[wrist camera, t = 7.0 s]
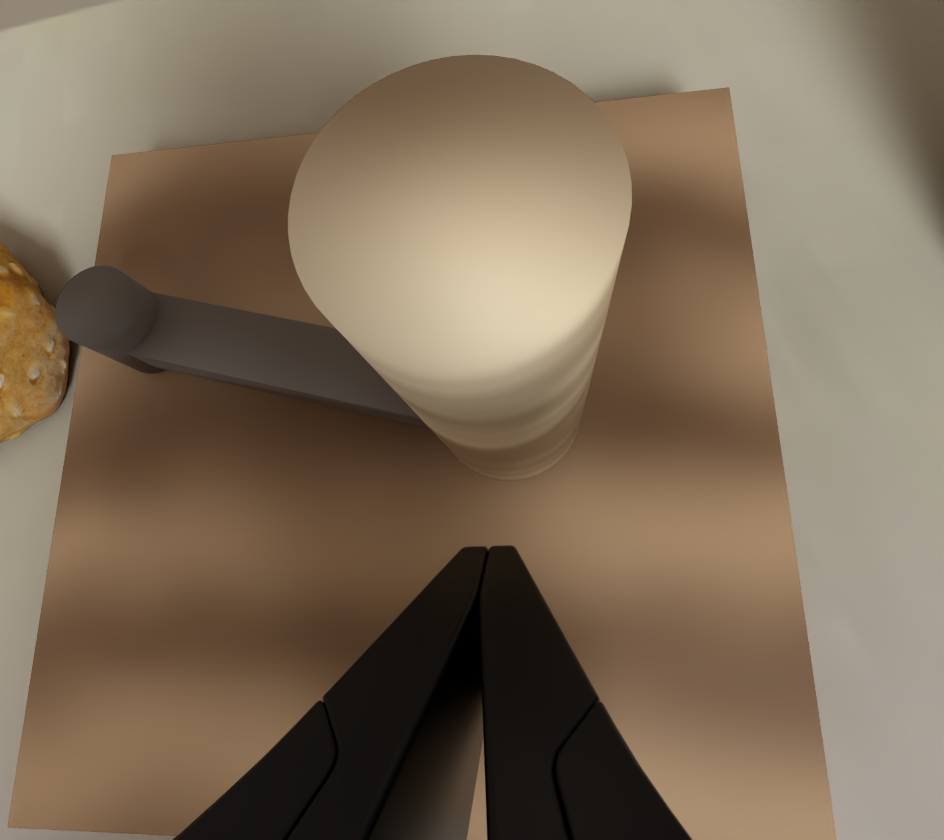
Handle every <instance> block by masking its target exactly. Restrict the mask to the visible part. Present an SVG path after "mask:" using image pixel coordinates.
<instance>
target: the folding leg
mask: <svg viewBox="0 0 944 840" xmlns="http://www.w3.org/2000/svg"><path fill="white" fill-rule="evenodd" d="M631 207H632V182H631V176H630V170H629V164H628V160H627V157H626V154H625V151H624V148H623V145H622V143H621V141H620V139H619V137H618V135H617V133H616V131H615V129H614V127H613V125H612V124H611V123H610V121H609V120H608V118H607V117H606V116H605V114H604V113H603V111H602V110H601V109H600V108H599V107H598V106H597V105H596V104H595V103H594V102H593V101H592V100H591V99H590V97H589V96H588V95H586V94H585V93H584V92H583V91H581V90H580V89H579V88H577V87H576V86H575V85H574V84H572V83H571V82H569V81H568V80H566V79H564V78H562V77H561V76H559V75H557V74H555V73H554V72H551V71H549V70H547V69H544V68H542V67H539V66H537V65H535V64H531V63H527V62H524V61H520V60H517V59H512V58H505V57H499V56H488V55H465V56H452V57H446V58H440V59H435V60H430V61H427V62H423V63H420V64H416V65H413V66H410V67H408V68H405V69H403V70H400V71H398V72H395V73H393V74H391V75H389V76H387V77H385V78H383V79H381V80H379V81H378V82H376V83H374V84H372V85H371V86H369V87H368V88H366V89H365V90H363V91H362V92H361V93H359V94H358V95H356V96H355V97H354V98H353V99H351V100H350V101H349V102H348V103H347V104H346V105H344V106H343V107H342V108H341V109H340V110H339V111H338V112H337V113H336V114H335V115H334V116H333V117H332V118H331V119H330V120H329V121H328V123H327V124H326V125H325V126H324V128H323V129H322V130H321V132H320V133H319V134H318V136H317V137H316V138H315V140H314V141H313V143H312V145H311V146H310V148H309V150H308V151H307V153H306V155H305V157H304V159H303V161H302V163H301V166H300V168H299V170H298V173H297V175H296V178H295V182H294V185H293V189H292V193H291V197H290V204H289V212H288V237H289V244H290V251H291V255H292V259H293V262H294V265H295V269H296V272H297V274H298V276H299V278H300V281H301V283H302V285H303V287H304V289H305V291H306V292H307V294H308V295H309V297H310V298H311V300H312V301H313V303H314V304H315V306H316V307H317V308H318V309H319V310H320V311H321V313H322V314H323V315H324V316H325V317H326V318H327V319H328V320H329V321H330V322H331V323H332V325H333V326H334V327H335V328H331V327H326V326H321V325H316V324H311V323H306V322H301V321H295V320H290V319H285V318H280V317H275V316H270V315H265V314H260V313H255V312H250V311H245V310H240V309H235V308H229V307H224V306H219V305H214V304H209V303H204V302H199V301H194V300H189V299H184V298H179V297H174V296H169V295H163V294H158V293H153V292H152V291H150V290H149V289H147V288H146V287H144V286H143V285H141V284H140V283H138V282H137V281H135V280H134V279H132V278H131V277H129V276H128V275H126V274H125V273H123V272H122V271H120V270H118V269H116V268H114V267H111V266H95V267H91V268H88V269H86V270H84V271H82V272H80V273H78V274H77V275H75V276H74V277H73V278H72V279H71V280H70V281H69V282H68V283H67V284H66V286H65V287H64V288H63V290H62V291H61V293H60V295H59V298H58V300H57V304H56V310H55V318H56V323H57V326H58V328H59V330H60V331H61V333H62V334H63V335H64V336H65V337H66V338H68V339H69V340H71V341H73V342H75V343H77V344H80V345H82V346H84V347H86V348H89V349H91V350H93V351H95V352H97V353H100V354H102V355H104V356H106V357H109V358H111V359H113V360H115V361H118V362H120V363H122V364H124V365H126V366H129V367H131V368H133V369H135V370H138V371H140V372H143V373H148V374H153V373H159V372H163V371H165V370H170V371H175V372H179V373H184V374H188V375H193V376H197V377H202V378H206V379H211V380H215V381H220V382H224V383H228V384H233V385H237V386H242V387H246V388H251V389H255V390H260V391H264V392H269V393H273V394H277V395H282V396H286V397H291V398H295V399H300V400H304V401H309V402H313V403H318V404H322V405H327V406H331V407H335V408H340V409H344V410H349V411H353V412H358V413H362V414H367V415H371V416H376V417H380V418H385V419H389V420H393V421H398V422H402V423H407V424H411V425H416V426H420V427H425V428H429V429H431V430H432V431H433V432H434V433H435V434H436V435H437V437H438V438H439V439H440V440H441V441H442V442H443V443H444V444H445V445H446V446H447V447H448V448H449V449H450V450H451V451H452V453H453V454H454V455H455V456H456V457H457V458H458V459H459V460H460V461H461V462H462V463H463V464H464V465H466V466H467V467H468V468H470V469H471V470H473V471H474V472H476V473H478V474H480V475H482V476H485V477H488V478H491V479H495V480H501V481H517V480H524V479H528V478H532V477H535V476H537V475H540V474H542V473H544V472H545V471H547V470H549V469H550V468H552V467H553V466H554V465H556V464H557V463H558V462H559V461H560V460H561V459H562V458H563V457H564V456H565V455H566V453H567V452H568V451H569V449H570V448H571V446H572V444H573V442H574V440H575V438H576V436H577V433H578V429H579V426H580V422H581V418H582V414H583V410H584V406H585V401H586V397H587V393H588V389H589V385H590V381H591V377H592V373H593V369H594V365H595V361H596V357H597V353H598V349H599V345H600V341H601V337H602V332H603V328H604V324H605V320H606V316H607V312H608V308H609V304H610V300H611V296H612V292H613V288H614V284H615V280H616V276H617V272H618V268H619V264H620V259H621V255H622V251H623V247H624V243H625V239H626V235H627V231H628V227H629V221H630V214H631Z"/></svg>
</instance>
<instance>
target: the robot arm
mask: <svg viewBox="0 0 944 840" xmlns="http://www.w3.org/2000/svg"><path fill="white" fill-rule="evenodd" d="M322 700H323V702H322V701H321V700H319V701H317V702H316V703H315V704H314V705H313V706H312V707H311V708H310V709H309V710H308V712H307V713H306V714H305V715H304V716H303V717H302V718H301V719H300V720H299V721H298V722H297V723H296V724H295V725H294V726H293V727H292V728H291V729H290V730H289V731H288V732H287V733H286V734H285V735H284V736H283V737H282V738H281V739H280V740H279V741H278V742H277V744H276V745H275V746H274V747H273V748H272V749H271V750H270V751H269V752H268V753H267V754H266V755H265V756H264V757H263V758H262V759H260V760H259V761H258V762H257V763H256V764H255V765H254V766H253V767H252V768H251V769H250V770H249V771H248V772H247V773H245V774H244V775H243V776H242V777H241V778H240V779H239V780H238V781H237V782H236V783H235V784H234V785H233V786H232V787H230V788H229V789H228V790H227V791H226V792H225V793H224V794H223V795H222V796H221V797H220V798H219V799H217V800H216V801H215V802H214V803H213V804H212V805H211V806H210V807H209V808H207V809H206V810H205V811H204V812H203V813H202V814H201V815H200V816H199V817H197V818H196V819H195V820H194V821H193V822H192V823H191V824H190V825H189V826H187V827H186V828H185V829H184V830H183V831H182V832H181V833H180V834H179V835H177V836H176V837H175V838H174V839H173V840H467V835H468V829H469V822H470V816H471V810H472V804H473V798H474V792H475V785H476V779H477V773H478V767H479V761H480V755H481V748H482V742H483V739H484V766H485V793H486V820H487V840H692V838H691V837H690V835H689V834H688V833H687V831H686V830H685V829H684V827H683V826H682V825H681V823H680V822H679V820H678V819H677V818H676V816H675V815H674V814H673V812H672V811H671V810H670V808H669V807H668V805H667V804H666V802H665V801H664V800H663V798H662V797H661V795H660V794H659V792H658V791H657V789H656V788H655V787H654V785H653V784H652V782H651V781H650V779H649V778H648V776H647V775H646V774H645V772H644V771H643V769H642V768H641V766H640V765H639V763H638V762H637V760H636V758H635V757H634V755H633V753H632V752H631V750H630V748H629V747H628V745H627V743H626V742H625V740H624V738H623V737H622V735H621V733H620V732H619V730H618V729H617V727H616V725H615V723H614V722H613V720H612V718H611V716H610V714H609V713H608V711H607V709H606V707H605V706H604V704H603V703H602V702H600V698H599V696H598V694H597V692H596V691H595V689H594V687H593V685H592V683H591V682H590V680H589V678H588V676H587V675H586V673H585V671H584V669H583V667H582V666H581V664H580V662H579V660H578V658H577V657H576V655H575V653H574V651H573V649H572V648H571V646H570V644H569V642H568V640H567V639H566V637H565V635H564V633H563V631H562V630H561V628H560V626H559V624H558V622H557V621H556V619H555V617H554V615H553V613H552V612H551V610H550V608H549V606H548V604H547V603H546V601H545V599H544V597H543V595H542V594H541V592H540V590H539V588H538V587H537V585H536V583H535V581H534V579H533V578H532V576H531V574H530V572H529V570H528V569H527V567H526V565H525V563H524V561H523V560H522V558H521V556H520V554H519V552H518V551H517V549H516V548H515V546H513V545H503V546H491V547H490V548H489V550H488V548H487V547H485V546H473V547H463V548H462V549H460V551H459V552H458V553H457V554H456V555H455V556H454V557H453V558H452V559H451V560H450V561H449V562H448V563H447V564H446V565H445V567H444V568H443V569H442V570H441V571H440V572H439V573H438V574H437V575H436V576H435V577H434V578H433V579H432V580H431V581H430V583H429V584H428V585H427V586H426V587H425V588H424V589H423V590H422V591H421V592H420V593H419V594H418V595H417V596H416V597H415V599H414V600H413V601H412V602H411V603H410V604H409V605H408V606H407V607H406V608H405V609H404V610H403V611H402V612H401V614H400V615H399V616H398V617H397V618H396V619H395V620H394V621H393V622H392V623H391V624H390V625H389V626H388V627H387V628H386V630H385V631H384V632H383V633H382V634H381V635H380V636H379V637H378V638H377V639H376V640H375V641H374V642H373V643H372V644H371V646H370V647H369V648H368V649H367V650H366V651H365V652H364V653H363V654H362V655H361V656H360V657H359V658H358V659H357V660H356V662H355V663H354V664H353V665H352V666H351V667H350V668H349V669H348V670H347V671H346V672H345V673H344V674H343V675H342V677H341V678H340V679H339V680H338V681H337V682H336V683H335V684H334V685H333V686H332V687H331V688H330V689H329V690H328V691H327V693H326V694H325V695H324V696H323V698H322Z"/></svg>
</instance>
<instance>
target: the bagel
mask: <svg viewBox="0 0 944 840" xmlns="http://www.w3.org/2000/svg"><path fill="white" fill-rule="evenodd" d="M38 286H39V284H38V282H37V281H35V280H34V279H33V278H32V277H31V276H30V275H29V274H28V273H27V271H26V270H25V269H24V268H23V267H22V265H21V264H20V263H19V262H18V261H17V260H16V259H15V258H14V257H13V256H12V254H11V253H10V252H9V250H8V249H7V248H6V247H5V246H4V245H1V244H0V443H1V442H2V441H4V440H5V441H7V440H8V439H15V438H17V437H19V436H20V435H21V434H22V433H23V432H25V431H26V430H27V429H29V428H30V427H31V426H32V425H33V424H34V423H36V422H38V421H40V420H43V419H45V418H47V417H49V416H50V415H52V414H53V413H54V412H55V411H56V410H57V408H58V407H59V405H60V404H61V402H62V399H63V397H64V395H65V391H66V387H67V380H68V358H69V354H70V346H69V339H68V338H66V337H65V336H64V335H63V334H62V333H61V331H60V330H59V328H58V326H57V323H56V318H55V310H56V309H55V308H54V307H53V306H52V305H50V304H48V303H47V301H46V300H45V298H44V297H43V296H42V292H41V290H40V289H39V287H38Z"/></svg>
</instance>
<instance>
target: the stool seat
mask: <svg viewBox="0 0 944 840" xmlns="http://www.w3.org/2000/svg"><path fill="white" fill-rule="evenodd" d="M594 103H595V104H596V105H597V106H598V107H599V108H600V109H601V110H602V111H603V113H604V114H605V116H606V117H607V118H608V120H609V121H610V123H611V124H612V125H613V127H614V129H615V131H616V133H617V135H618V137H619V139H620V141H621V143H622V145H623V148H624V151H625V154H626V157H627V160H628V164H629V170H630V176H631V182H632V207H631V214H630V221H629V227H628V231H627V235H626V239H625V243H624V247H623V251H622V255H621V259H620V264H619V268H618V272H617V276H616V280H615V284H614V288H613V292H612V296H611V300H610V304H609V308H608V312H607V316H606V320H605V324H604V328H603V332H602V337H601V341H600V345H599V349H598V353H597V357H596V361H595V365H594V369H593V373H592V377H591V381H590V385H589V389H588V393H587V397H586V401H585V406H584V410H583V414H582V418H581V422H580V426H579V429H578V433H577V436H576V438H575V440H574V442H573V444H572V446H571V448H570V449H569V451H568V452H567V453H566V455H565V456H564V457H563V458H562V459H561V460H560V461H559V462H558V463H557V464H556V465H554V466H553V467H552V468H550V469H549V470H547V471H545V472H544V473H542V474H540V475H537V476H535V477H532V478H528V479H524V480H517V481H501V480H495V479H491V478H488V477H485V476H482V475H480V474H478V473H476V472H474V471H473V470H471V469H470V468H468V467H467V466H466V465H464V464H463V463H462V462H461V461H460V460H459V459H458V458H457V457H456V456H455V455H454V454H453V453H452V451H451V450H450V449H449V448H448V447H447V446H446V445H445V444H444V443H443V442H442V441H441V440H440V439H439V438H438V437H437V435H436V434H435V433H434V432H433V431H432V430H431V429H429V428H425V427H420V426H416V425H411V424H407V423H402V422H398V421H393V420H389V419H385V418H380V417H376V416H371V415H367V414H362V413H358V412H353V411H349V410H344V409H340V408H335V407H331V406H327V405H322V404H318V403H313V402H309V401H304V400H300V399H295V398H291V397H286V396H282V395H277V394H273V393H269V392H264V391H260V390H255V389H251V388H246V387H242V386H237V385H233V384H228V383H224V382H220V381H215V380H211V379H206V378H202V377H197V376H193V375H188V374H184V373H179V372H175V371H170V370H165V371H163V372H159V373H153V374H148V373H143V372H140V371H138V370H135V369H133V368H131V367H129V366H126V365H124V364H122V363H120V362H118V361H115V360H113V359H111V358H109V357H106V356H104V355H102V354H100V353H97V352H95V351H93V350H91V349H89V348H86V347H84V346H82V351H81V358H80V364H79V371H78V377H77V383H76V390H75V396H74V403H73V409H72V416H71V422H70V428H69V435H68V441H67V448H66V454H65V461H64V467H63V473H62V480H61V486H60V493H59V499H58V506H57V512H56V518H55V525H54V531H53V538H52V544H51V551H50V557H49V563H48V570H47V576H46V583H45V589H44V596H43V602H42V609H41V615H40V621H39V628H38V634H37V641H36V647H35V654H34V660H33V666H32V673H31V679H30V686H29V692H28V699H27V705H26V711H25V718H24V724H23V731H22V737H21V744H20V750H19V756H18V763H17V769H16V776H15V782H14V789H13V795H12V801H11V808H10V814H9V821H8V827H10V828H30V829H50V830H70V831H90V832H109V833H129V834H149V835H169V836H177V835H179V834H180V833H181V832H182V831H183V830H184V829H185V828H186V827H187V826H189V825H190V824H191V823H192V822H193V821H194V820H195V819H196V818H197V817H199V816H200V815H201V814H202V813H203V812H204V811H205V810H206V809H207V808H209V807H210V806H211V805H212V804H213V803H214V802H215V801H216V800H217V799H219V798H220V797H221V796H222V795H223V794H224V793H225V792H226V791H227V790H228V789H229V788H230V787H232V786H233V785H234V784H235V783H236V782H237V781H238V780H239V779H240V778H241V777H242V776H243V775H244V774H245V773H247V772H248V771H249V770H250V769H251V768H252V767H253V766H254V765H255V764H256V763H257V762H258V761H259V760H260V759H262V758H263V757H264V756H265V755H266V754H267V753H268V752H269V751H270V750H271V749H272V748H273V747H274V746H275V745H276V744H277V742H278V741H279V740H280V739H281V738H282V737H283V736H284V735H285V734H286V733H287V732H288V731H289V730H290V729H291V728H292V727H293V726H294V725H295V724H296V723H297V722H298V721H299V720H300V719H301V718H302V717H303V716H304V715H305V714H306V713H307V712H308V710H309V709H310V708H311V707H312V706H313V705H314V704H315V703H316V702H317V701H319V700H321V701H322V702H323V700H322V698H323V696H324V695H325V694H326V693H327V691H328V690H329V689H330V688H331V687H332V686H333V685H334V684H335V683H336V682H337V681H338V680H339V679H340V678H341V677H342V675H343V674H344V673H345V672H346V671H347V670H348V669H349V668H350V667H351V666H352V665H353V664H354V663H355V662H356V660H357V659H358V658H359V657H360V656H361V655H362V654H363V653H364V652H365V651H366V650H367V649H368V648H369V647H370V646H371V644H372V643H373V642H374V641H375V640H376V639H377V638H378V637H379V636H380V635H381V634H382V633H383V632H384V631H385V630H386V628H387V627H388V626H389V625H390V624H391V623H392V622H393V621H394V620H395V619H396V618H397V617H398V616H399V615H400V614H401V612H402V611H403V610H404V609H405V608H406V607H407V606H408V605H409V604H410V603H411V602H412V601H413V600H414V599H415V597H416V596H417V595H418V594H419V593H420V592H421V591H422V590H423V589H424V588H425V587H426V586H427V585H428V584H429V583H430V581H431V580H432V579H433V578H434V577H435V576H436V575H437V574H438V573H439V572H440V571H441V570H442V569H443V568H444V567H445V565H446V564H447V563H448V562H449V561H450V560H451V559H452V558H453V557H454V556H455V555H456V554H457V553H458V552H459V551H460V549H462V548H463V547H473V546H485V547H487V548H488V550H489V548H490V547H491V546H503V545H513V546H515V548H516V549H517V551H518V552H519V554H520V556H521V558H522V560H523V561H524V563H525V565H526V567H527V569H528V570H529V572H530V574H531V576H532V578H533V579H534V581H535V583H536V585H537V587H538V588H539V590H540V592H541V594H542V595H543V597H544V599H545V601H546V603H547V604H548V606H549V608H550V610H551V612H552V613H553V615H554V617H555V619H556V621H557V622H558V624H559V626H560V628H561V630H562V631H563V633H564V635H565V637H566V639H567V640H568V642H569V644H570V646H571V648H572V649H573V651H574V653H575V655H576V657H577V658H578V660H579V662H580V664H581V666H582V667H583V669H584V671H585V673H586V675H587V676H588V678H589V680H590V682H591V683H592V685H593V687H594V689H595V691H596V692H597V694H598V696H599V698H600V702H602V703H603V704H604V706H605V707H606V709H607V711H608V713H609V714H610V716H611V718H612V720H613V722H614V723H615V725H616V727H617V729H618V730H619V732H620V733H621V735H622V737H623V738H624V740H625V742H626V743H627V745H628V747H629V748H630V750H631V752H632V753H633V755H634V757H635V758H636V760H637V762H638V763H639V765H640V766H641V768H642V769H643V771H644V772H645V774H646V775H647V776H648V778H649V779H650V781H651V782H652V784H653V785H654V787H655V788H656V789H657V791H658V792H659V794H660V795H661V797H662V798H663V800H664V801H665V802H666V804H667V805H668V807H669V808H670V810H671V811H672V812H673V814H674V815H675V816H676V818H677V819H678V820H679V822H680V823H681V825H682V826H683V827H684V829H685V830H686V831H687V833H688V834H689V835H690V837H691V838H692V840H837V838H836V831H835V824H834V817H833V810H832V803H831V796H830V789H829V782H828V775H827V768H826V761H825V754H824V747H823V740H822V733H821V726H820V719H819V712H818V705H817V698H816V691H815V684H814V677H813V670H812V663H811V656H810V650H809V643H808V636H807V629H806V622H805V615H804V608H803V601H802V594H801V587H800V580H799V573H798V566H797V559H796V552H795V545H794V538H793V531H792V524H791V517H790V510H789V503H788V496H787V489H786V482H785V475H784V468H783V461H782V454H781V447H780V440H779V433H778V426H777V419H776V412H775V405H774V398H773V391H772V384H771V377H770V370H769V363H768V356H767V349H766V342H765V335H764V328H763V321H762V314H761V307H760V300H759V293H758V286H757V279H756V272H755V265H754V258H753V251H752V244H751V237H750V230H749V223H748V216H747V209H746V202H745V195H744V188H743V181H742V174H741V167H740V160H739V153H738V146H737V139H736V132H735V125H734V118H733V111H732V104H731V97H730V90H729V88H720V89H711V90H702V91H692V92H683V93H674V94H665V95H656V96H647V97H638V98H629V99H620V100H611V101H602V102H594ZM318 134H319V133H311V134H302V135H293V136H284V137H275V138H266V139H257V140H248V141H239V142H230V143H221V144H212V145H203V146H194V147H184V148H175V149H166V150H157V151H148V152H139V153H130V154H121V155H112V158H111V165H110V171H109V178H108V184H107V190H106V197H105V203H104V210H103V216H102V223H101V229H100V235H99V242H98V248H97V255H96V261H95V266H111V267H114V268H116V269H118V270H120V271H122V272H123V273H125V274H126V275H128V276H129V277H131V278H132V279H134V280H135V281H137V282H138V283H140V284H141V285H143V286H144V287H146V288H147V289H149V290H150V291H152V292H153V293H158V294H163V295H169V296H174V297H179V298H184V299H189V300H194V301H199V302H204V303H209V304H214V305H219V306H224V307H229V308H235V309H240V310H245V311H250V312H255V313H260V314H265V315H270V316H275V317H280V318H285V319H290V320H295V321H301V322H306V323H311V324H316V325H321V326H326V327H331V328H335V327H334V326H333V325H332V323H331V322H330V321H329V320H328V319H327V318H326V317H325V316H324V315H323V314H322V313H321V311H320V310H319V309H318V308H317V307H316V306H315V304H314V303H313V301H312V300H311V298H310V297H309V295H308V294H307V292H306V291H305V289H304V287H303V285H302V283H301V281H300V278H299V276H298V274H297V272H296V269H295V265H294V262H293V259H292V255H291V251H290V244H289V237H288V212H289V204H290V197H291V193H292V189H293V185H294V182H295V178H296V175H297V173H298V170H299V168H300V166H301V163H302V161H303V159H304V157H305V155H306V153H307V151H308V150H309V148H310V146H311V145H312V143H313V141H314V140H315V138H316V137H317V136H318ZM467 840H487V820H486V793H485V766H484V739H483V742H482V748H481V755H480V761H479V767H478V773H477V779H476V785H475V792H474V798H473V804H472V810H471V816H470V822H469V829H468V835H467Z"/></svg>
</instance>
